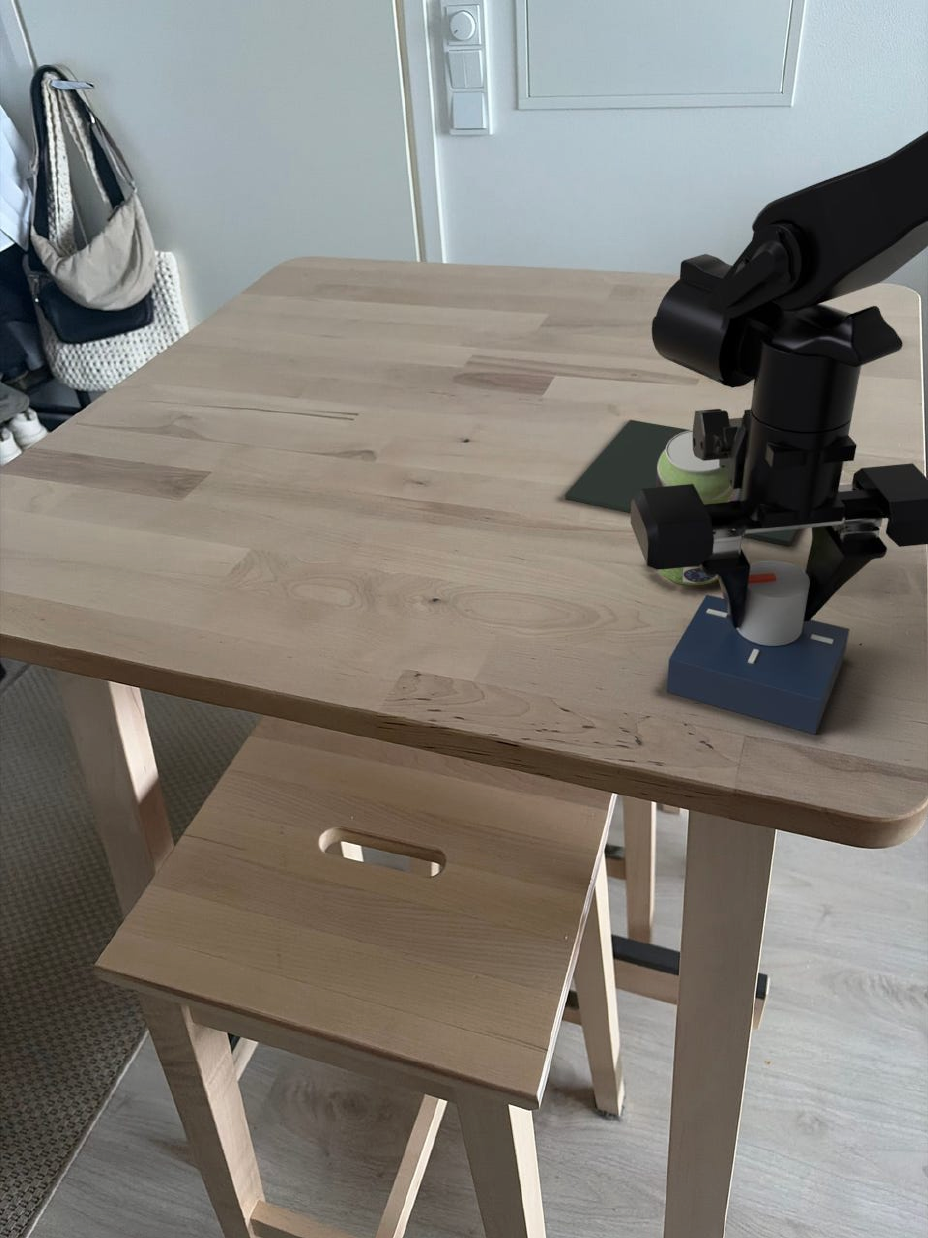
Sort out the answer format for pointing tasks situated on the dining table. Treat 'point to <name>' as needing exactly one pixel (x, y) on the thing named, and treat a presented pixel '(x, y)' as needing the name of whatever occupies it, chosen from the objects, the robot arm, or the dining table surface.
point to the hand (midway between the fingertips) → (769, 620)
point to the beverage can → (709, 482)
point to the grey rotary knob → (774, 603)
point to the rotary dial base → (757, 669)
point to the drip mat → (637, 472)
